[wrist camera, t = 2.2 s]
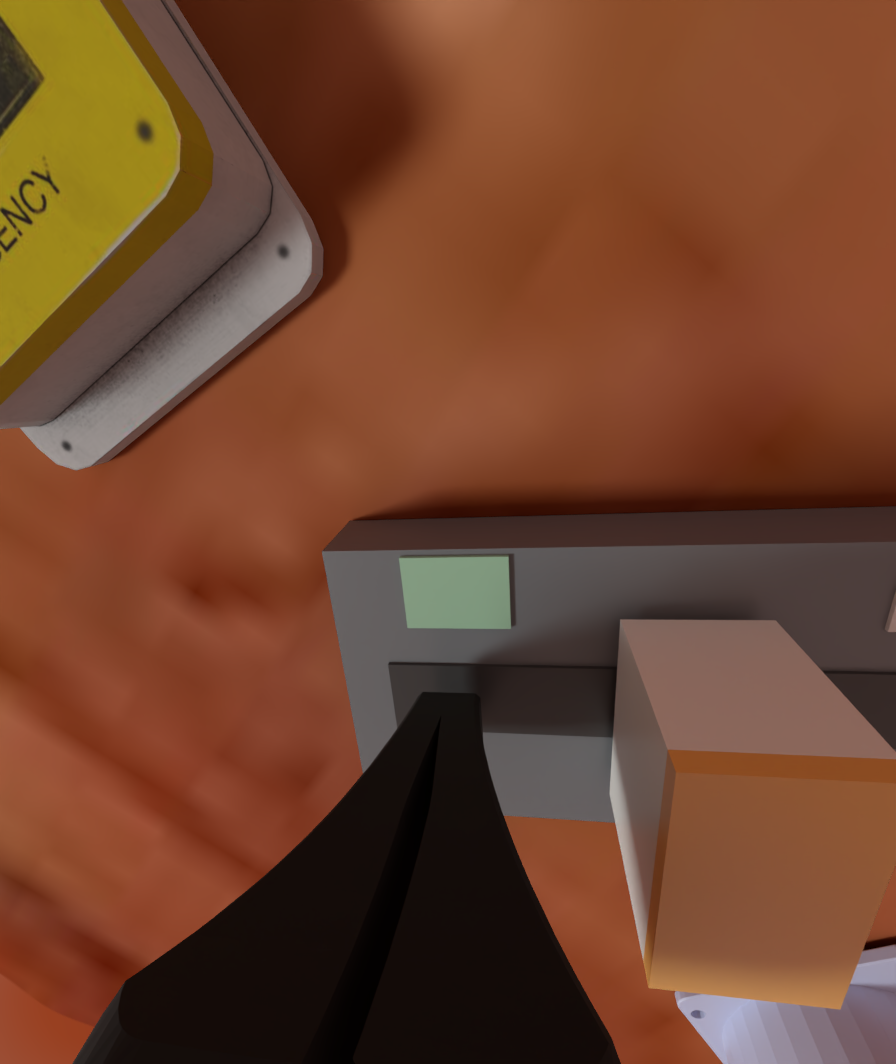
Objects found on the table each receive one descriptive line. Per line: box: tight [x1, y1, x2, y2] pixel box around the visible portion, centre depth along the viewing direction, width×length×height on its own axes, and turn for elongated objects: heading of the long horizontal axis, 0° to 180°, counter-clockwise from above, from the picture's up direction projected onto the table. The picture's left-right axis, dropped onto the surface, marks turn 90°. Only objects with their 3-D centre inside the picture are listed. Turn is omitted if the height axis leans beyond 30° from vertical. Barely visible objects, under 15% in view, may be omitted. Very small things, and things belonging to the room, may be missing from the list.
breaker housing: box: [322, 506, 896, 823], centre depth 12 cm, size 16×8×2 cm, turn 95°
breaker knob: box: [609, 619, 896, 1010], centre depth 9 cm, size 3×5×4 cm, turn 5°
